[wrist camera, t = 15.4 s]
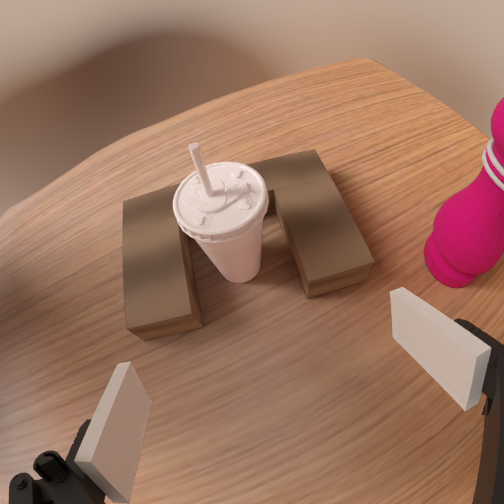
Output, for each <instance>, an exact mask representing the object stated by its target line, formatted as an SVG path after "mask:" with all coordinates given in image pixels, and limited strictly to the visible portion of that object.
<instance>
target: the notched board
mask: <svg viewBox="0 0 504 504" xmlns="http://www.w3.org/2000/svg"><path fill="white" fill-rule="evenodd" d="M247 166H249V167H251V168H253V169H254V170H256V171H257V172H258V173H259V174H260V175H261V176H262V178H263V179H264V181H265V184H266V189H267V191H268V198H269V203H268V208H267V212H266V214H265V215H264V216H266V215H269V214H273V213H276V215H277V217H278V220H279V223H280V225H281V228H282V231H283V233H284V236H285V239H286V241H287V244H288V247H289V250H290V252H291V255H292V258H293V261H294V264H295V266H296V269H297V272H298V275H299V278H300V280H301V283H302V286H303V289H304V292H305V295H306V297H307V299H309V298H313V297H316V296H319V295H322V294H326V293H329V292H332V291H335V290H339V289H342V288H345V287H348V286H351V285H354V284H357V283H360V282H363V281H366V279H367V277H368V275H369V273H370V271H371V269H372V266H373V264H374V262H375V261H374V259H373V257H372V255H371V253H370V251H369V249H368V247H367V244H366V242H365V240H364V238H363V236H362V234H361V232H360V230H359V229H358V227H357V225H356V223H355V221H354V219H353V217H352V215H351V213H350V211H349V209H348V207H347V206H346V204H345V202H344V200H343V198H342V196H341V194H340V193H339V191H338V189H337V187H336V185H335V184H334V182H333V180H332V178H331V177H330V175H329V173H328V171H327V170H326V168H325V166H324V164H323V163H322V161H321V159H320V158H319V156H318V154H317V153H316V151H315V149H313V150H308V151H304V152H299V153H294V154H290V155H285V156H281V157H277V158H272V159H268V160H264V161H260V162H256V163H252V164H248V165H247ZM180 184H181V183H179V184H176V185H172V186H169V187H166V188H163V189H160V190H156V191H153V192H150V193H147V194H144V195H141V196H138V197H135V198H132V199H129V200H126V201H123V279H124V300H125V315H126V327H127V330H129V331H130V332H132V333H133V334H135V335H137V336H138V337H140V338H141V339H143V340H144V341H146V340H151V339H155V338H160V337H164V336H169V335H173V334H178V333H182V332H186V331H190V330H194V329H199V328H203V322H202V317H201V311H200V306H199V301H198V295H197V290H196V284H195V278H194V272H193V266H192V260H191V254H190V248H189V242H188V237H189V235H187V234H186V233H185V232H184V231H183V230H182V229H181V227H180V226H179V224H178V222H177V218H176V217H175V214H174V211H173V199H174V195H175V192H176V190H177V188H178V187H179V185H180Z"/></svg>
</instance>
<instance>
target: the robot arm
mask: <svg viewBox="0 0 504 504" xmlns="http://www.w3.org/2000/svg"><path fill="white" fill-rule="evenodd" d="M390 298H391V313H392V333H393V338H394V339H395V340H396V341H397V342H398V343H399V344H400V345H401V346H402V347H403V348H404V349H405V350H406V351H407V352H408V353H409V354H410V355H411V356H412V357H413V358H414V359H415V360H416V361H417V362H418V363H419V364H420V365H421V366H422V367H423V368H424V369H425V370H426V371H427V372H428V373H429V374H430V375H431V376H432V377H433V378H434V379H435V381H436V382H437V383H438V384H439V385H440V386H441V387H442V388H443V389H444V390H445V391H446V392H447V393H448V394H449V395H450V396H451V397H452V398H453V399H454V400H455V401H456V402H457V403H458V404H459V405H460V406H461V408H462V409H463V410H464V411H466V410H468V409H470V408H471V407H473V406H474V405H476V404H477V403H479V400H480V397H481V393H482V392H483V393H484V394H485V395H486V396H487V399H486V402H485V405H484V409H483V412H482V415H484V414H485V421H484V434H483V444H482V452H481V460H480V466H479V473H478V479H477V484H476V489H475V494H474V499H473V503H472V504H504V345H503V344H501V343H500V342H498V341H497V340H495V339H494V338H492V337H491V336H490V335H488V334H487V333H485V332H484V331H483V332H482V330H481V329H479V328H478V327H477V328H476V326H475V325H473V324H472V323H470V322H469V321H466V320H462V319H459V318H458V319H456V320H454V321H453V320H452V319H450V318H449V317H447V316H446V315H444V314H443V313H441V312H440V311H438V310H437V309H435V308H434V307H432V306H431V305H429V304H428V303H426V302H425V301H423V300H422V299H420V298H419V297H417V296H416V295H414V294H413V293H411V292H410V291H408V290H407V289H405V288H404V287H401V288H398V289H395V290H392V291H390ZM151 406H152V401H151V399H150V397H149V395H148V393H147V392H146V390H145V388H144V386H143V384H142V382H141V380H140V378H139V376H138V374H137V372H136V370H135V368H134V366H133V364H132V362H131V361H129V362H124V363H118V364H117V366H116V368H115V370H114V372H113V375H112V377H111V379H110V381H109V383H108V385H107V387H106V389H105V391H104V394H103V396H102V398H101V400H100V402H99V404H98V407H97V409H96V411H95V413H94V415H93V418H92V419H89V420H86V421H85V423H84V424H83V425H82V426H81V427H80V429H79V431H78V433H77V437H76V438H75V440H74V444H72V446H71V449H70V451H69V453H68V456H67V458H66V460H65V461H64V460H63V459H62V457H61V456H60V455H59V454H58V453H57V452H56V451H46V452H43V453H42V454H40V455H39V456H38V457H37V458H36V459H35V462H34V464H33V469H34V470H35V471H36V472H37V473H38V474H39V475H40V476H41V478H42V479H40V480H34V479H33V478H32V477H31V476H30V475H29V474H28V473H20V474H17V475H16V476H14V477H13V479H12V480H11V482H10V486H9V504H106V503H105V502H104V499H105V495H106V496H107V497H108V498H109V499H110V500H111V501H113V502H116V503H130V500H131V495H132V490H133V485H134V480H135V475H136V470H137V466H138V461H139V457H140V452H141V448H142V443H143V439H144V435H145V431H146V427H147V422H148V418H149V414H150V410H151Z"/></svg>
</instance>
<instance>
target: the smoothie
mask: <svg viewBox="0 0 504 504" xmlns="http://www.w3.org/2000/svg"><path fill="white" fill-rule="evenodd" d="M189 150H190V153H191V156H192V158H193V161H194V164H195V167H196V171H194V172H193V173H191V174H190V175H189V176H188V177H186V178H185V179H184V180H183V182H182V183H181V184H180V185H179V187H178V188H177V190H176V192H175V195H174V199H173V211H174V214H175V217H176V218H177V222H178V224H179V226H180V227H181V229H182V230H183V231H184V232H185V233H186V234H187V235H189V236H190V237H191V238H194V239H195V240H196V242H197V243H198V244H199V245H200V247H201V248H202V249H203V251H204V252H205V253H206V254H207V256H208V257H209V258H210V260H211V261H212V262H213V263H214V265H215V266H216V267H217V269H218V270H219V271H220V272H221V274H222V275H223V276H224V277H225V278H226V279H227V280H228V281H231V282H234V283H244V282H247V281H249V280H251V279H252V278H254V277H255V276H256V274H257V273H258V271H259V269H260V262H261V245H262V228H263V217H264V215H265V214H266V212H267V208H268V203H269V198H268V191H267V189H266V184H265V181H264V179H263V178H262V176H261V175H260V174H259V173H258V172H257V171H256V170H254V169H253V168H251V167H249V166H247V165H245V164H241V163H236V162H219V163H213V164H210V165H207V166H205V164H204V161H203V158H202V155H201V152H200V148H199V145H198V143H192V144H190V145H189Z"/></svg>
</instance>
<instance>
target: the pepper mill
mask: <svg viewBox="0 0 504 504" xmlns="http://www.w3.org/2000/svg"><path fill="white" fill-rule="evenodd" d="M491 131H492V135H493V138H492V139H491V140H489V142H488V143H487V148H486V149H485V150H484V152H483V155H482V160H483V164H484V165H483V167H482V170H481V172H480V173H479V175H478V176H477V178H476V179H475V180H474V181H473V182H472V183H471V184H470V185H469V186H468V187H466V188H465V189H463V190H461V191H460V192H458V193H456V194H454V195H453V196H451V197H450V198H449V199H448V200H447V201H446V202H445V203H444V204H443V205H442V207H441V208H440V210H439V211H438V213H437V214H436V217H435V220H434V224H433V232H432V233H431V235H430V237H429V238H428V240H427V242H426V244H425V248H424V256H425V261H426V264H427V266H428V269H429V271H430V272H431V273H432V274H433V276H434V277H435V278H436V279H437V280H438V281H440V282H441V283H442V284H444V285H447V286H449V287H454V288H459V287H464V286H466V285H468V284H469V283H470V282H471V281H472V280H473V279H474V278H475V277H476V276H477V275H478V274H482V273H485V272H487V271H489V270H490V269H491V268H492V267H493V266H494V265H495V264H496V263H497V261H498V260H499V259H500V257H501V256H502V253H503V251H504V98H503V99H502V100H501V101H500V102H499V103H498V104H497V106H496V108H495V110H494V112H493V115H492V118H491Z"/></svg>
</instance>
